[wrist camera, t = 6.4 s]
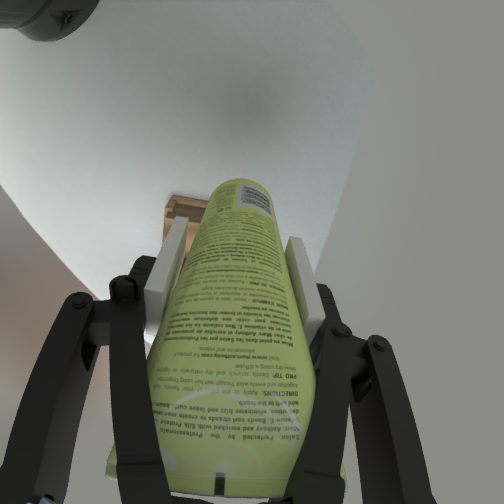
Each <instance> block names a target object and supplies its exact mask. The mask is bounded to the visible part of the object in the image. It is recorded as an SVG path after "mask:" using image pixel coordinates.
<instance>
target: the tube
mask: <svg viewBox="0 0 504 504" xmlns="http://www.w3.org/2000/svg"><path fill="white" fill-rule="evenodd" d="M146 364H147V373H148V381H149V388H150V395H151V402H152V408H153V414H154V420H155V426H156V431H157V436H158V442H159V447H160V451H161V456H162V460H163V464H164V469H165V473H166V477H167V481H168V485H169V489H170V492H178V493H183V494H192V495H200V496H218V497H226V498H259V499H260V498H283V496H284V493H285V490H286V486H287V483H288V480H289V477H290V474H291V472H292V470H293V467H294V465H295V463H296V460H297V458H298V455H299V453H300V450H301V447H302V445H303V442H304V439H305V436H306V432H307V429H308V426H309V422H310V418H311V414H312V409H313V404H314V399H315V391H316V374H315V370H314V367H313V363H312V359H311V356H310V352H309V348H308V345H307V341H306V337H305V333H304V329H303V326H302V322H301V318H300V314H299V310H298V307H297V303H296V299H295V295H294V291H293V287H292V284H291V280H290V276H289V272H288V268H287V264H286V260H285V255H284V251H283V247H282V243H281V239H280V234H279V230H278V225H277V221H276V216H275V212H274V207H273V203H272V200H271V197H270V195H269V193H268V192H267V191H266V189H265V188H263V187H262V186H261V185H260V184H258V183H256V182H254V181H252V180H248V179H232V180H229V181H226V182H224V183H222V184H221V185H220V186H218V187H217V188H216V189H215V190H214V192H213V193H212V195H211V197H210V200H209V202H208V205H207V207H206V210H205V213H204V215H203V218H202V220H201V223H200V225H199V228H198V230H197V233H196V235H195V238H194V241H193V243H192V246H191V248H190V251H189V253H188V256H187V258H186V261H185V263H184V266H183V268H182V271H181V273H180V276H179V278H178V281H177V283H176V286H175V288H174V291H173V293H172V296H171V298H170V301H169V303H168V306H167V308H166V311H165V313H164V316H163V319H162V321H161V324H160V326H159V329H158V331H157V334H156V337H155V339H154V342H153V344H152V347H151V349H150V352H149V355H148V357H147V359H146ZM116 464H117V456H116V448H115V442H114V445H113V447H112V450H111V452H110V455H109V457H108V460H107V467H106V473H105V477H106V478H108V479H112V480H116V481H118V480H117V474H116ZM340 475H341V477H342V478H343V479H344V480H345V492H346V491H347V488H348V486H347V479H346V472H345V469H344V466H343V463H342V465H341V472H340Z"/></svg>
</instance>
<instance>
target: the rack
mask: <svg viewBox="0 0 504 504" xmlns="http://www.w3.org/2000/svg"><path fill="white" fill-rule="evenodd" d="M208 202H209V201H203V200H197V199H192V198H186V197H179V196H172V197H171V199H170V200H169V202H168V204H167V205H166V207H165V216H164V229H163V243H164V241H165V239H166V237H167V234H168V232H169V230H170V228H171V226H172V224H173V221H174V219H175V217H176V216H180V217H186V218H189V221H188V229H187V238H186V247H185V256H184V260H183V263H182V267H181V270H180V273H181V271H182V268H183V266H184V263H185V261H186V258H187V256H188V253H189V251H190V248H191V246H192V243H193V241H194V238H195V235H196V233H197V230H198V228H199V225H200V223H201V220H202V218H203V215H204V213H205V210H206V207H207V205H208ZM162 246H163V244H162ZM180 273H179V276H180ZM178 278H179V277H178ZM177 281H178V280H177Z"/></svg>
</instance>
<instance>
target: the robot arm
mask: <svg viewBox="0 0 504 504" xmlns="http://www.w3.org/2000/svg"><path fill="white" fill-rule="evenodd" d="M98 1H99V0H0V28H14V29H16V30H18V31H19V32H21V33H22V34H24V35H25V36H27V37H28V38H30V39H32V40H35V41H44V42H50V41H55V40H59V39H61V38H63V37H65V36H67V35H69V34H70V33H72V32H73V31H74V30H76V29H77V28H78V27H79V26H80V25H81V24H82V23H83V22H84V21H85V20H86V19H87V18H88V17H89V15H90V14H91V13H92V11H93V10H94V8H95V7H96V5H97V3H98ZM188 221H189V218H186V217H180V216H176V217H175V219H174V221H173V224H172V226H171V228H170V230H169V232H168V234H167V237H166V239H165V241H164V243H163V246H162V248H161V250H160V252H159V255H158V257H157V258H156V257H150V256H145V255H142V256H141V257H140V258H138V259H137V260H136V261H135V263H134V265H133V268H132V269H131V271H130V273H129V275H122V276H118V277H115V278H114V279H113V280H112V281H111V282H110V284H109V289H110V298H111V299H109V300H103V301H93V299H92V297H91V296H90V295H89V294H88V293H85V292H77V293H73V294H71V295H69V296H68V297H67V298H66V300H65V302H64V304H63V305H62V307H61V309H60V311H59V313H58V316H57V318H56V319H55V321H54V323H53V325H52V328H51V330H50V332H49V334H48V336H47V338H46V340H45V342H44V345H43V347H42V350H41V351H40V354H39V356H38V358H37V361H36V363H35V365H34V368H33V370H32V373H31V375H30V378H29V381H28V383H27V386H26V389H25V391H24V394H23V397H22V399H21V402H20V405H19V409H18V411H17V414H16V417H15V421H14V424H13V427H12V431H11V434H10V438H9V441H8V445H7V449H6V453H5V457H4V461H3V464H2V466H1V467H0V504H63V502H64V499H65V496H66V492H67V487H68V482H69V475H70V469H71V462H72V457H73V452H74V446H75V442H76V437H77V432H78V427H79V423H80V419H81V415H82V410H83V406H84V403H85V399H86V395H87V391H88V388H89V384H90V380H91V377H92V373H93V370H94V366H95V363H96V360H97V357H98V354H99V350H100V347H101V346H103V345H104V346H105V345H109V354H110V356H109V357H110V358H109V360H110V391H111V408H112V421H113V431H114V440H115V448H116V456H117V464H116V474H117V480H118V486H119V491H120V496H121V501H122V504H213V503H210V502H207V501H204V500H200V499H192V498H184V497H177V496H171V493H170V489H169V485H168V481H167V477H166V473H165V469H164V464H163V460H162V456H161V451H160V447H159V442H158V436H157V431H156V426H155V420H154V414H153V408H152V402H151V395H150V388H149V381H148V373H147V364H146V355H145V345H144V330H145V328H146V334H148V335H153V336H156V334H157V331H158V329H159V326H160V324H161V321H162V319H163V316H164V313H165V311H166V308H167V306H168V303H169V301H170V298H171V296H172V293H173V291H174V288H175V286H176V283H177V280H178V277H179V273H180V270H181V267H182V263H183V260H184V256H185V247H186V238H187V229H188ZM284 255H285V260H286V264H287V268H288V272H289V276H290V280H291V284H292V287H293V291H294V295H295V299H296V303H297V307H298V310H299V314H300V318H301V322H302V326H303V329H304V333H305V337H306V341H307V345H308V348H309V352H310V356H311V359H312V363H313V367H314V370H315V374H316V391H315V399H314V404H313V409H312V414H311V418H310V422H309V426H308V429H307V432H306V436H305V439H304V442H303V445H302V447H301V450H300V453H299V455H298V458H297V460H296V463H295V465H294V467H293V470H292V472H291V474H290V477H289V480H288V483H287V486H286V490H285V493H284V496H283V498H269V501H268V502H262V503H259V504H342V503H343V498H344V493H345V480H344V479H343V478H342V477H341V475H340V472H341V465H342V458H343V451H344V444H345V436H346V427H347V418H348V408H349V405H350V411H351V417H352V423H353V430H354V436H355V442H356V450H357V458H358V465H359V473H360V482H361V491H362V500H363V504H437V503H436V501H435V499H434V497H433V495H432V493H431V488H430V482H429V478H428V473H427V468H426V464H425V459H424V455H423V451H422V446H421V442H420V438H419V434H418V430H417V427H416V423H415V419H414V416H413V412H412V409H411V406H410V402H409V399H408V395H407V392H406V389H405V386H404V382H403V380H402V376H401V374H400V370H399V367H398V364H397V361H396V358H395V355H394V353H393V350H392V347H391V345H390V343H389V342H388V341H387V340H386V339H385V338H384V337H382V336H379V335H372V336H370V337H369V338H368V340H364V339H361V338H358V337H356V336H353V335H352V331H351V330H350V328H349V327H348V326H346V325H345V324H343V323H342V321H341V318H340V316H339V312H338V309H337V307H336V305H335V301H334V298H333V295H332V292H331V290H330V289H329V288H328V287H327V286H326V285H324V284H318V283H316V282H315V279H314V275H313V272H312V269H311V266H310V262H309V259H308V256H307V253H306V250H305V247H304V243H303V240H302V238H297V237H292V236H290V237H289V240H288V243H287V246H286V250H285V253H284Z"/></svg>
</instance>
